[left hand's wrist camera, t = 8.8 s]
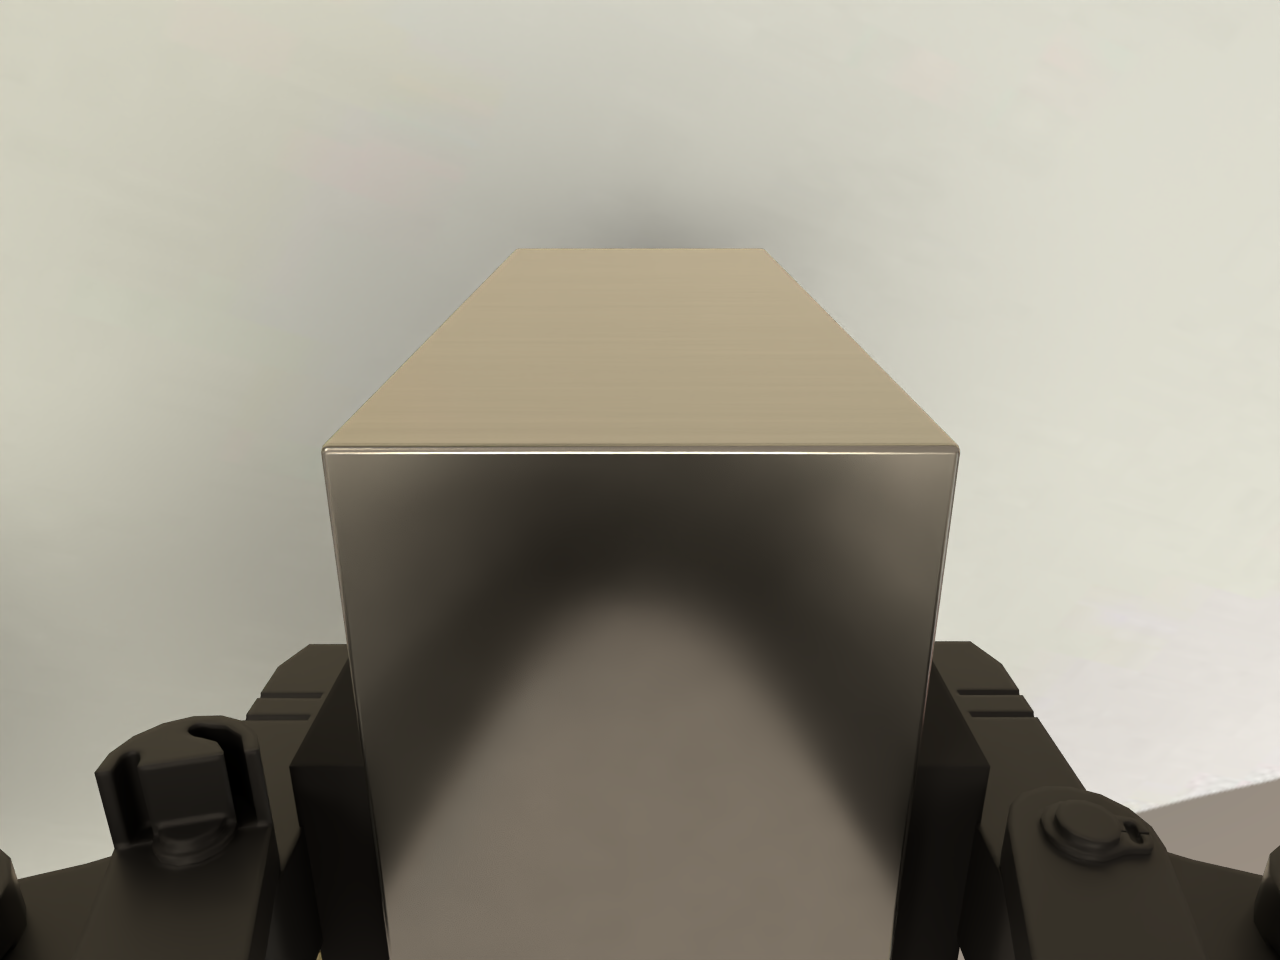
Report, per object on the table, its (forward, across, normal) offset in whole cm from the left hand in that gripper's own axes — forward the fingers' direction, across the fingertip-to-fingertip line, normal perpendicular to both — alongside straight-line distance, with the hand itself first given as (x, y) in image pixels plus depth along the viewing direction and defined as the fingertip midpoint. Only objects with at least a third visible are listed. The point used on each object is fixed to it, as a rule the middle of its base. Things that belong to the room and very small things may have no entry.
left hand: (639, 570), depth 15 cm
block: (+5, 0, 0) cm, 5 cm away
